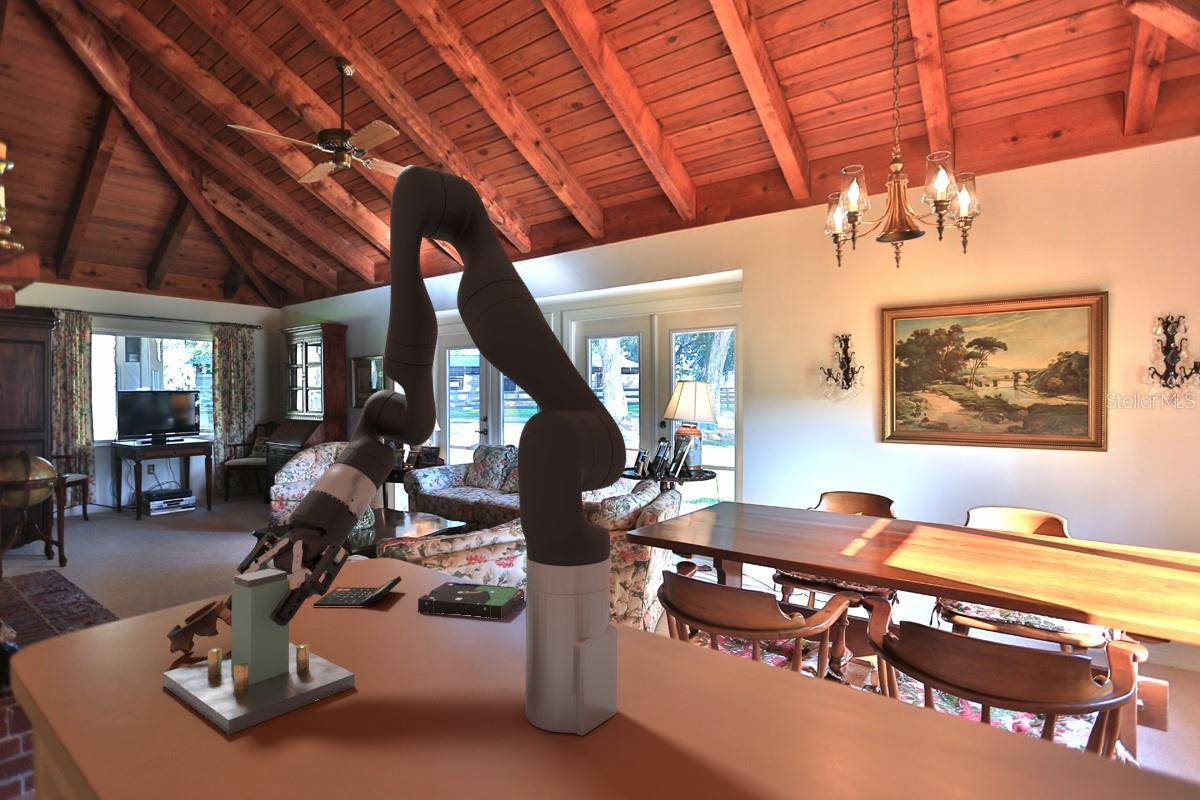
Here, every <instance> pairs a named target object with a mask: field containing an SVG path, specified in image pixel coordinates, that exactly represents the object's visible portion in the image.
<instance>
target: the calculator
mask: <svg viewBox="0 0 1200 800" xmlns="http://www.w3.org/2000/svg"><path fill="white" fill-rule="evenodd" d="M402 580H403V579H402V577H401V576H400V575H399V576H398V577H395V578H393V579H391V580H390V581H388V582H386V583H384V584H382V585H381V586H378V587H354V586H353V587H350V586H347V587H346V586H345V587H344V586H340V587H339V586H338V587H335V588H334V589H333V590H331V591H330V592H329V593H326V594H325V595H323V596H322V597H321V598H320V599H318V600H317V601H316V602H314V603H313V606H363V607H362V608H364V607H366V606H368V605H369V604H372V603H374V602H375V601H377V600H379V599H381V598H383V597H385V596H386V595H387V594H388V593H389V592H391V591H392V589H394V588H395V587H396V586H397V585H398V584H400V582H402ZM313 606H312V607H313Z"/></svg>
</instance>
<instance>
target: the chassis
mask: <svg viewBox="0 0 1200 800" xmlns="http://www.w3.org/2000/svg"><path fill="white" fill-rule="evenodd" d="M222 650H223V648H222V647H212V648H210V649H208V651H207V659H206V660H202V661H199V662H196V663H193V664H188V665H186V666H182V667H179V668H176V669H171V670H169V671H165V672H163V673H162V674H163V675H162V686H163V687H165V688H166V689H167V690H169V691H170V692H171V693H173V694H174V695H175V696H177V698H179V699H180V700H182V701H183V702H184V701H185V703H186V704H187V705H188V706H190V707H191V708H193V709H194V710H195V711H196V710H197V711H196V712H198V713H199V714H200V713H201V714H200V715H202V716H203V715H204V716H205V717H204V716H203V717H204V718H206V720H208V719H209V720H210V721H209V720H208V721H209V722H211V723H212V724H213V723H214V724H213V725H215V724H216V725H217V726H218V727H217V726H216V725H215V726H216V727H217V728H219V729H220V730H221V729H222V730H221V731H223V732H224V731H225V732H226V733H225V732H224V733H225V734H227V735H228V736H229V735H232V734H235V733H237V732H239V731H242V730H244V729H247V728H250V727H253V726H255V725H258V724H260V723H263V722H265V721H269V720H270V719H273V718H276V717H279V716H281V715H284V714H285V712H287V713H289V712H291V711H290V710H292V711H294V709H295V710H297V709H299V708H298V707H300V708H302V707H304V706H303V705H305V704H308V703H310V704H312V703H311V702H313V701H315V700H317V699H321V698H323V697H326V696H328V695H331V694H334V695H335V693H336V694H338V693H337V692H339V693H341V692H343V691H342V690H344V691H346V690H345V689H347V690H350V689H351V687H352V688H354V687H355V685H356V684H355V678H356V677H355V676H356V674H355V672H352V671H350V670H348V669H346V668H344V667H342V666H339V665H337V664H335V663H333V662H331V661H329V660H328V659H325V658H323V657H321V656H319V655H316V654H315V653H312V652H310V645H309V644H307V643H304V644H299V645H296V644H294V643H292V642H290V641H289V671H287V672H285V673H282V674H279V675H276V676H274V677H271V678H268V679H265V680H262V681H260V682H257V683H254V684H251V685H250V684H248V663H239V664H236V665H235V666H234V676H233V675H231V652H230V653H226V654H223V653H222V652H223V651H222ZM340 691H341V692H340ZM331 696H332V695H331ZM328 697H329V696H328ZM326 698H327V697H326ZM323 699H324V698H323ZM321 700H322V699H321ZM315 702H316V701H315ZM313 703H314V702H313ZM308 705H309V704H308ZM301 706H302V707H301ZM305 706H306V705H305ZM296 708H297V709H296ZM288 711H289V712H288ZM283 713H284V714H283ZM280 714H281V715H280ZM278 715H279V716H278Z"/></svg>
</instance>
